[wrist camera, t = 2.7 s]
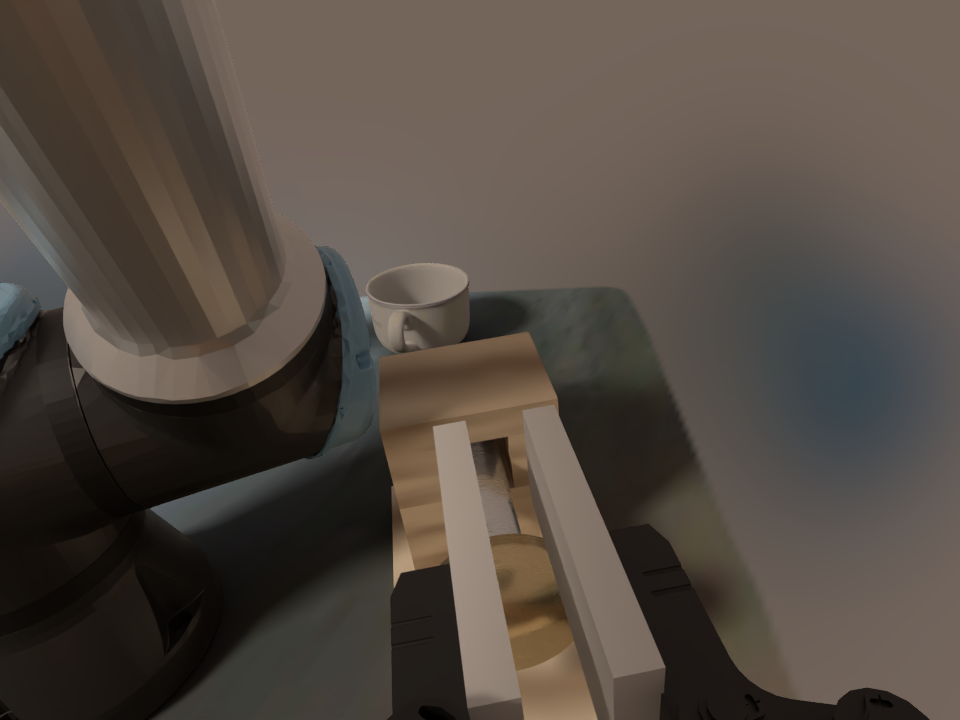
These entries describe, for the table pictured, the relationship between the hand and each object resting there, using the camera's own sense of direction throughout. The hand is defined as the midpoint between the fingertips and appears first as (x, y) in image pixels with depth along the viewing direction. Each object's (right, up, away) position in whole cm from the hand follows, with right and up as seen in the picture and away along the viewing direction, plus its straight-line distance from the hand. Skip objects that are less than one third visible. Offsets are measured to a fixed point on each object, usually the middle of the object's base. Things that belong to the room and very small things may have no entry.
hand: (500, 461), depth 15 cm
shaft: (0, -9, +20) cm, 22 cm away
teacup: (-7, +3, +53) cm, 54 cm away
